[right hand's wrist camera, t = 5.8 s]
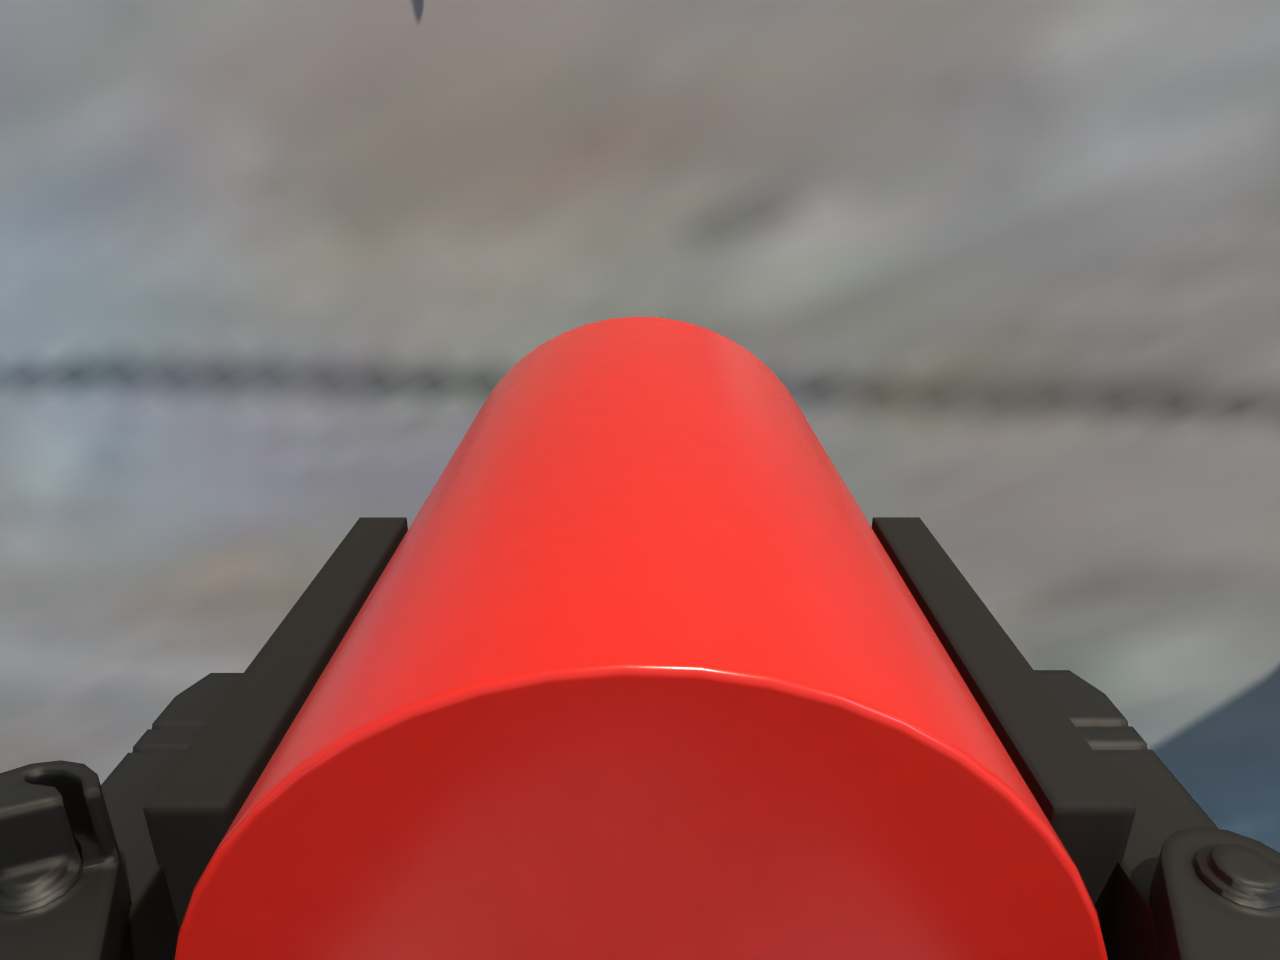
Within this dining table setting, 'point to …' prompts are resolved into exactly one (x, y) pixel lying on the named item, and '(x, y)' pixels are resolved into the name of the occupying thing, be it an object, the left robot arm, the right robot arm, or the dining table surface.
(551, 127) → the dining table surface
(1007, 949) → the can
